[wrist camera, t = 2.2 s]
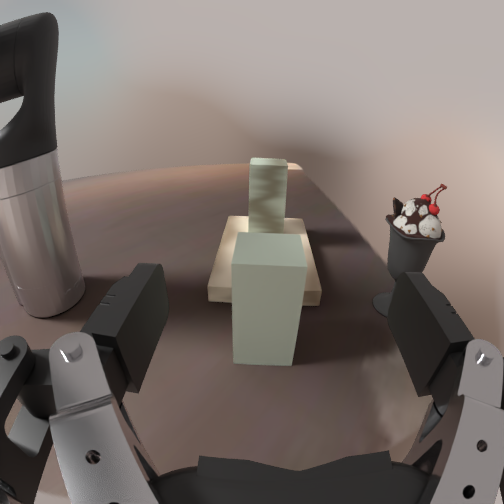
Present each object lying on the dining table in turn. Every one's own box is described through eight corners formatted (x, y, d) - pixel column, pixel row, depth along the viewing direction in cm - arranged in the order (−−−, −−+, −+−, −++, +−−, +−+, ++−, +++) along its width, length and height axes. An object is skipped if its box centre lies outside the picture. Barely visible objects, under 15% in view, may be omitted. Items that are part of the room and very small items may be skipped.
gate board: (208, 301, 32) (202, 193, 26) (229, 227, 49) (229, 155, 44) (319, 305, 31) (336, 199, 26) (301, 230, 49) (307, 159, 43)
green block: (233, 363, 24) (231, 263, 19) (238, 325, 29) (238, 231, 24) (291, 365, 24) (307, 266, 19) (288, 327, 28) (300, 234, 24)
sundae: (426, 323, 28) (469, 194, 21) (374, 325, 28) (411, 184, 21) (407, 289, 34) (436, 175, 27) (360, 289, 34) (384, 166, 27)
